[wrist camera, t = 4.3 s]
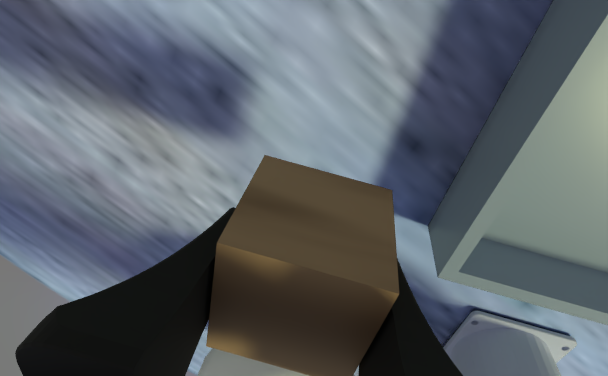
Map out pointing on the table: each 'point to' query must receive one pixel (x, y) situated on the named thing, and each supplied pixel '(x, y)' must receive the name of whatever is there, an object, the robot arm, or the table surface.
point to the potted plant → (239, 366)
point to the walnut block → (304, 270)
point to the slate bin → (539, 176)
